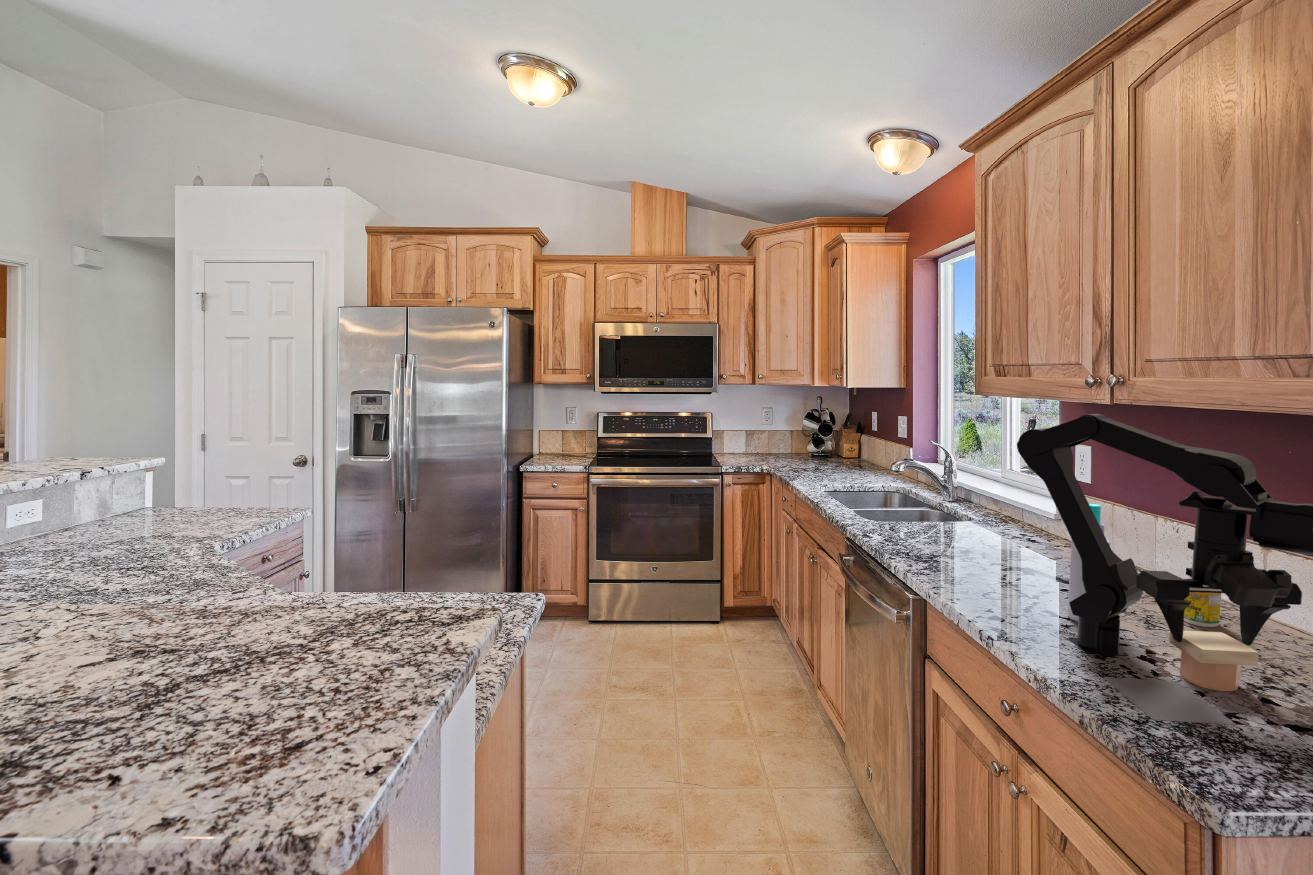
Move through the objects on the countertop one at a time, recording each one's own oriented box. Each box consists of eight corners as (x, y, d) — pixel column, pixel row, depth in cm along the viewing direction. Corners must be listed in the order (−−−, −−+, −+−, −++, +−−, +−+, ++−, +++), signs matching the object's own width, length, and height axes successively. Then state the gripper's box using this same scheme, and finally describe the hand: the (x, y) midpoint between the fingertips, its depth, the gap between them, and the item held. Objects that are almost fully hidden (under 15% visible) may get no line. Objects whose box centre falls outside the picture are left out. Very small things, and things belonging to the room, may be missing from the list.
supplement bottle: (1227, 627, 117) (1231, 575, 116) (1200, 628, 117) (1204, 577, 116) (1198, 616, 123) (1202, 567, 122) (1173, 617, 122) (1177, 568, 121)
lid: (1169, 642, 100) (1170, 629, 100) (1221, 644, 99) (1221, 632, 99) (1201, 662, 93) (1202, 649, 92) (1257, 665, 92) (1258, 652, 91)
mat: (1103, 680, 97) (1103, 677, 97) (1176, 684, 96) (1176, 681, 96) (1152, 723, 86) (1152, 719, 86) (1236, 728, 84) (1236, 724, 84)
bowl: (1171, 673, 100) (1173, 643, 99) (1217, 675, 99) (1219, 645, 99) (1200, 693, 94) (1202, 661, 93) (1249, 695, 93) (1251, 663, 92)
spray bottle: (1062, 619, 122) (1068, 504, 120) (1073, 611, 126) (1079, 500, 124) (1100, 628, 117) (1107, 509, 115) (1109, 619, 121) (1116, 505, 119)
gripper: (1186, 553, 88) (1178, 663, 89) (1342, 557, 85) (1331, 671, 86) (1137, 533, 99) (1131, 631, 100) (1274, 536, 96) (1265, 637, 97)
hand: (1211, 642), depth 96 cm, fingers open, 9 cm apart
